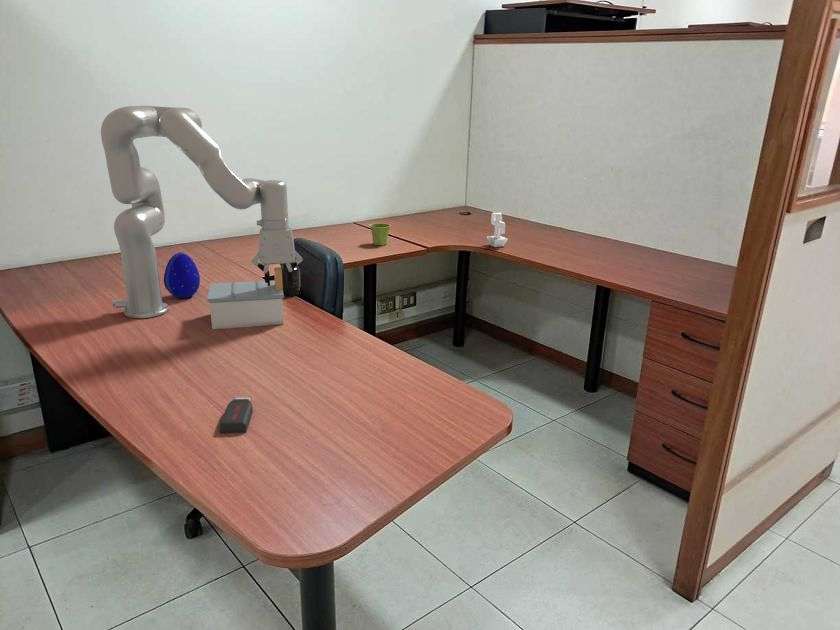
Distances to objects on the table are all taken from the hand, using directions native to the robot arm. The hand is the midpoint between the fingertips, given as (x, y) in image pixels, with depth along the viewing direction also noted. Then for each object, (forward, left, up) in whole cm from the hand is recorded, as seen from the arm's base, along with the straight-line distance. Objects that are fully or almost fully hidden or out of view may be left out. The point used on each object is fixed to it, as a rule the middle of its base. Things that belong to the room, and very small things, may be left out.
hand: (278, 283), depth 185 cm
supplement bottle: (+5, +22, -11) cm, 25 cm away
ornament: (-29, +25, -11) cm, 40 cm away
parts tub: (-9, 0, -10) cm, 14 cm away
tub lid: (-10, 0, -2) cm, 10 cm away
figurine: (+101, +76, -11) cm, 126 cm away
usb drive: (-12, -61, -11) cm, 63 cm away
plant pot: (+49, +87, -11) cm, 100 cm away
